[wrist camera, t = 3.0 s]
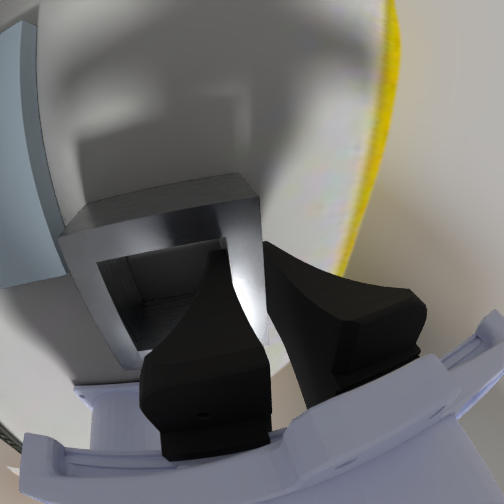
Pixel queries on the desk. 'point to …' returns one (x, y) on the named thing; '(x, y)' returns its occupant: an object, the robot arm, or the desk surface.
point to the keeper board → (25, 170)
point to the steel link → (159, 237)
